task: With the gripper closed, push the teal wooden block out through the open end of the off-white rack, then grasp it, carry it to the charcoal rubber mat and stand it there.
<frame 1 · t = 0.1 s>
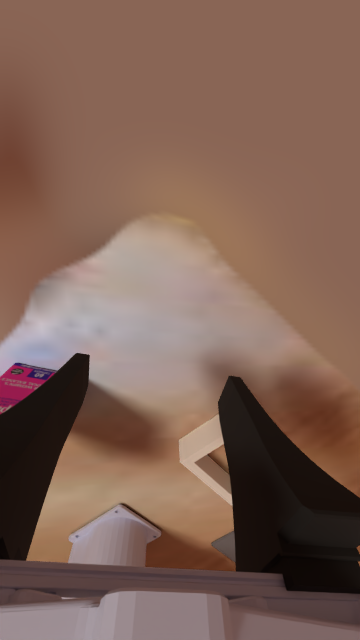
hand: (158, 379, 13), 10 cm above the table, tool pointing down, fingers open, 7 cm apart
rack: (253, 464, 31), on the table
mat: (250, 543, 37), on the table
supplement box: (45, 388, 26), on the table
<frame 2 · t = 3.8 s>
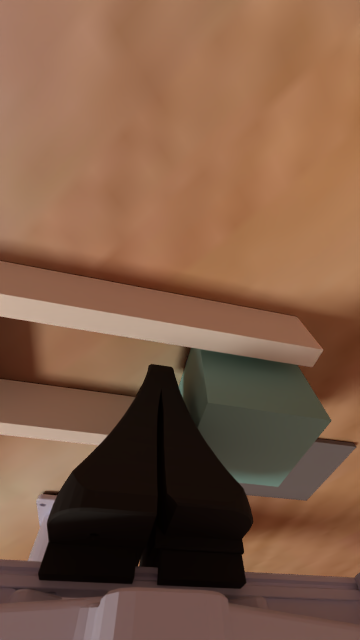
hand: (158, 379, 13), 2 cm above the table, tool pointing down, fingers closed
block: (227, 370, 15), on the table, touching gripper
rack: (133, 355, 15), on the table
mat: (281, 467, 21), on the table
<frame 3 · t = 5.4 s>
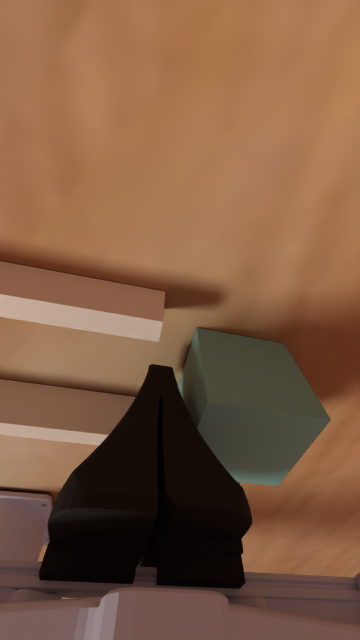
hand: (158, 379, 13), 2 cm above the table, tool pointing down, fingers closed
block: (226, 369, 15), on the table, touching gripper
rack: (1, 335, 14), on the table
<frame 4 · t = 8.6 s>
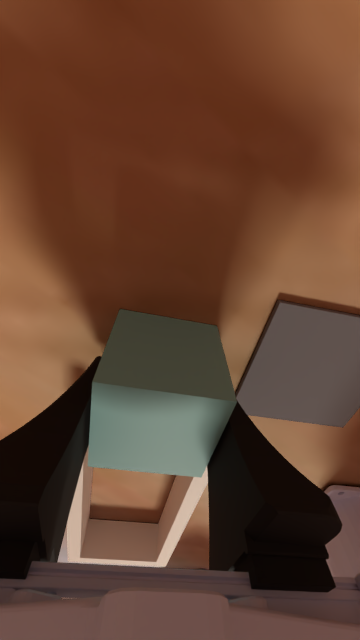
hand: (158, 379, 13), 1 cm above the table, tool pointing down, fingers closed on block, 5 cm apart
block: (161, 355, 14), on the table, touching gripper
rack: (134, 476, 21), on the table
mat: (314, 371, 15), on the table
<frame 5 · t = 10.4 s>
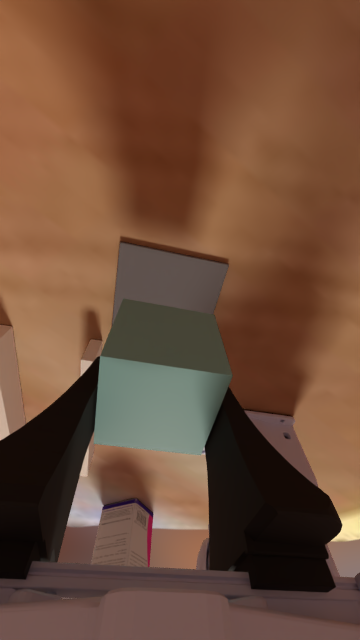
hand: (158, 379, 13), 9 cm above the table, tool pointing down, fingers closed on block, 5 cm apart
block: (161, 344, 15), point 6 cm above the table, touching gripper
rack: (55, 396, 26), on the table
mat: (165, 300, 21), on the table
supplement box: (128, 508, 39), on the table
when the fingers open (3 cm above the table, at t = 12.1 s): block stays where it is, resting on mat.
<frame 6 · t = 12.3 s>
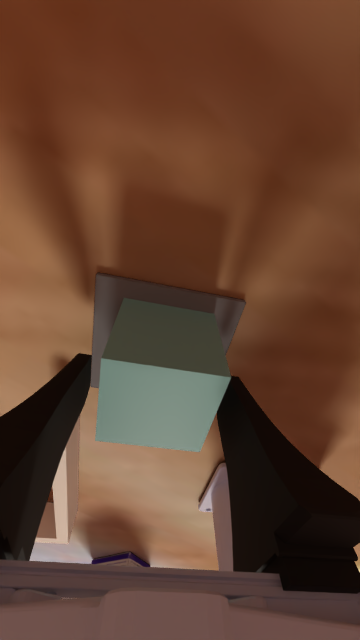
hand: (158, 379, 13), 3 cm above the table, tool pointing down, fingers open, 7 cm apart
block: (162, 342, 15), resting on mat
rack: (25, 453, 21), on the table
mat: (160, 345, 16), on the table
supplement box: (122, 560, 34), on the table
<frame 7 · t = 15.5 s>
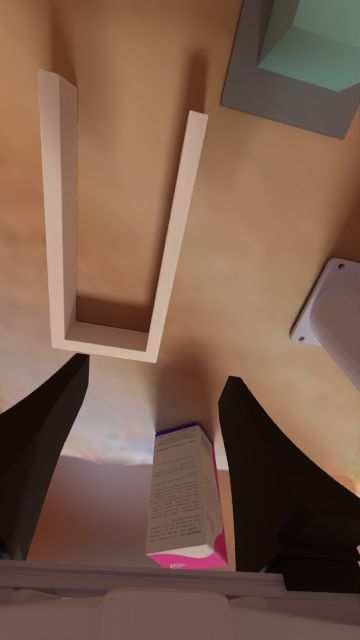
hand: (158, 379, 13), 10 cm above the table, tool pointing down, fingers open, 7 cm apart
block: (319, 16, 13), resting on mat
rack: (121, 238, 19), on the table
mat: (312, 31, 14), on the table
supplement box: (184, 438, 32), on the table
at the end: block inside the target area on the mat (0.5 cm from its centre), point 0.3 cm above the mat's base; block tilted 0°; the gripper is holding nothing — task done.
